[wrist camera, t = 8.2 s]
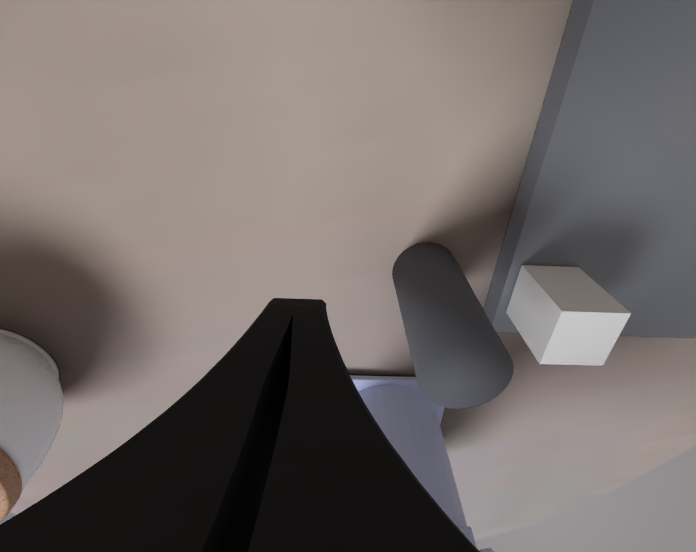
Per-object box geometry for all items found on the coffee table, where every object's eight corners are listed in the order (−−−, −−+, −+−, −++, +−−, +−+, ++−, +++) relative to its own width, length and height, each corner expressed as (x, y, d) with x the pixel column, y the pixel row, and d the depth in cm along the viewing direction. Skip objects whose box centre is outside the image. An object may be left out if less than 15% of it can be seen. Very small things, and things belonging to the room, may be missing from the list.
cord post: (449, 298, 22) (499, 409, 15) (389, 296, 22) (411, 408, 15) (462, 243, 20) (525, 341, 13) (396, 241, 20) (425, 338, 13)
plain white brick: (559, 314, 21) (603, 365, 17) (506, 312, 20) (539, 364, 17) (578, 267, 19) (631, 313, 16) (521, 265, 19) (561, 311, 15)
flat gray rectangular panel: (701, 323, 23) (722, 338, 22) (481, 316, 23) (490, 332, 21) (913, 9, 15) (967, 5, 14) (577, -13, 14) (600, -20, 13)
